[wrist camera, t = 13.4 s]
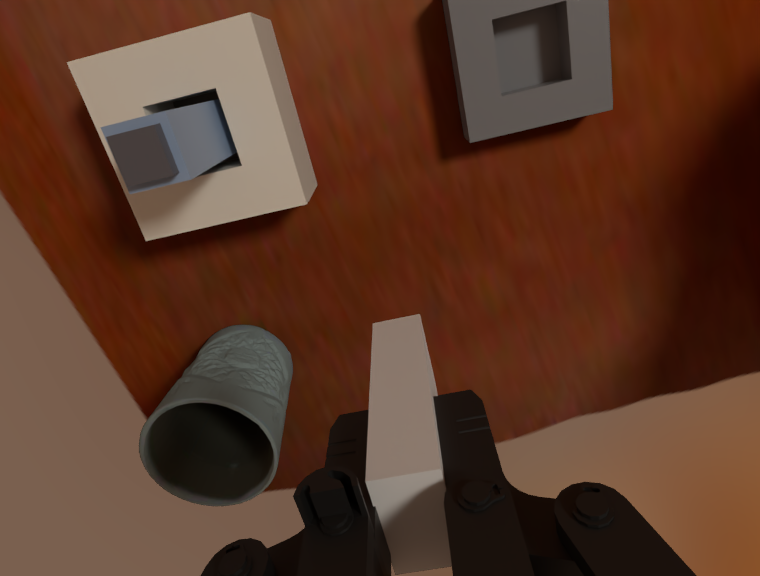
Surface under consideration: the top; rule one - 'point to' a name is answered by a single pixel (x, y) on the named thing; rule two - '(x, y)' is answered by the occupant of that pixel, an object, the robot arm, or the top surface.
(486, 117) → the grey square socket block
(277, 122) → the port
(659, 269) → the top surface
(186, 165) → the plug
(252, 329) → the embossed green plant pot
